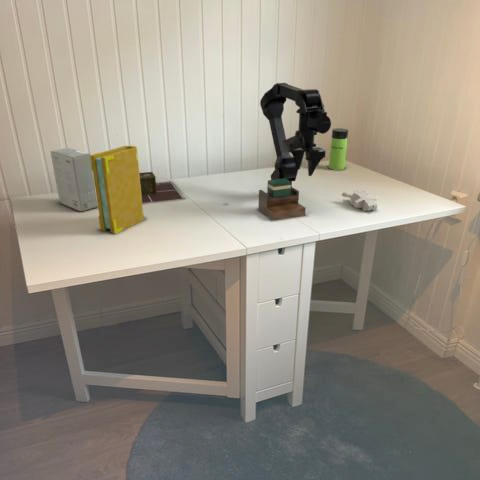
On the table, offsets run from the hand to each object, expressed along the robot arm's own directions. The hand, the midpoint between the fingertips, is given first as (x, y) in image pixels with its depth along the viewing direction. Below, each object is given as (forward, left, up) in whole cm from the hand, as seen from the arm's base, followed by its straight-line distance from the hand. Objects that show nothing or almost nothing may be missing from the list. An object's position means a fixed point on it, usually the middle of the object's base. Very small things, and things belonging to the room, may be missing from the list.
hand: (303, 172), depth 190 cm
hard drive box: (+78, -35, -13) cm, 87 cm away
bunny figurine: (-21, +8, -13) cm, 26 cm away
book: (+66, -8, -13) cm, 68 cm away
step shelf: (+10, +3, -13) cm, 17 cm away
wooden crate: (+50, -40, -13) cm, 65 cm away
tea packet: (+10, 0, -7) cm, 12 cm away
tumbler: (-42, -42, -13) cm, 61 cm away
